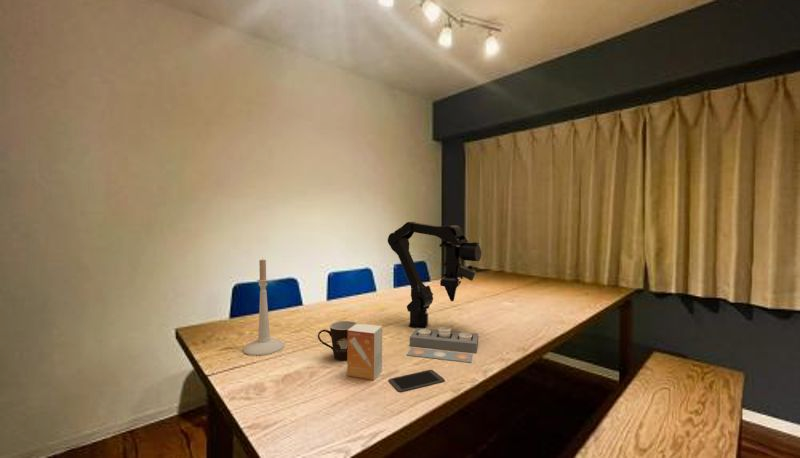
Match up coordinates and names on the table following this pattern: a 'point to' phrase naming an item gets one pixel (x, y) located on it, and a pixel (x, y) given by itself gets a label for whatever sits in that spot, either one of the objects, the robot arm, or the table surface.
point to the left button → (424, 332)
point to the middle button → (444, 332)
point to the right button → (465, 336)
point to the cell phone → (415, 380)
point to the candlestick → (263, 323)
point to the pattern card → (440, 355)
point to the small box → (364, 351)
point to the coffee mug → (339, 338)
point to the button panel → (444, 341)
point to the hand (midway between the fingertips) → (452, 300)
